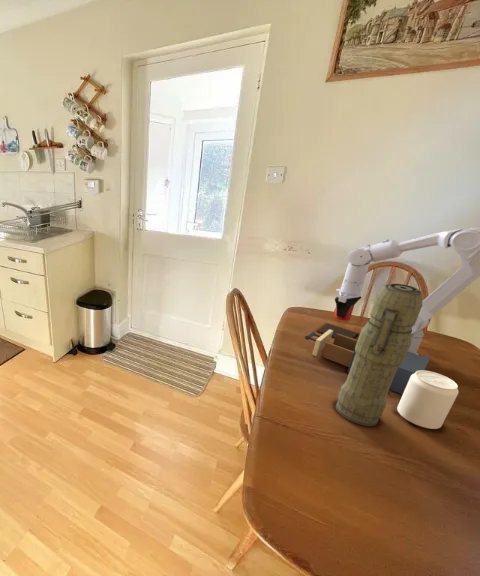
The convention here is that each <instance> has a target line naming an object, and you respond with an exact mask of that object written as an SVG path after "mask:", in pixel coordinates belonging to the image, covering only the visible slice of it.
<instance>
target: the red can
mask: <svg viewBox="0 0 480 576" xmlns="http://www.w3.org/2000/svg"><path fill="white" fill-rule="evenodd" d="M354 309H355V305H352V306H351V307H350V308H349V310H348V312H347V314H346V316H345V317H344V318H341V317H338V316H337V307H336V308H335V311H334V314H333V318H335V319H337V320H340V321H344V322H345V321H350V320H351V317H352V314H353V311H354Z"/></svg>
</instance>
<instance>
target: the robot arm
mask: <svg viewBox="0 0 480 576" xmlns="http://www.w3.org/2000/svg"><path fill="white" fill-rule="evenodd" d="M435 246H437V247H441V248H444V249H449V248H451V249H452V250H454V252H456V253H457V254H458V256H459V258H460V261H461V264H462V265H461V266H460V267H459V268H458V269H457V270H456V271H455V272H453V273H452V274H451V275H450V276H449V277H447V279H445V280H444V281H443V282H442V283H441V284H440V285H439V286H438V287H436V289H434V290H433V291H432V292H431V293H430V294H429V295H427V296H426V297H425V298H424V299H422V308H421V310H420V313H419V315H418V318H417V320H416V322H415V325H414V326H412V332H411V335H410V336H411V345H410V347H409V350H408V352H411V353H414V354H418V355H420V354H419V353H417V352H418V350H419V348H420V345H421V343H422V340H423V339H424V336H425V333H424V330H423V329H425V328H427V327H429V325H430V324H431V320H432V318H433V317H435V316H436V314H437V313H438V312H441V310H443V309H444V308H445V307H446V306H447V305H449V304H450V303H451V302H453V300H454V299H455V298H457V297H458V296H460V294H462V293H463V292H464V291H465V290H467V288H469V287H470V286H471V285H472V284H473V283H475V282H476V281H478V279H479V278H480V226H479V225H475V226H470V227H468V228H466V229H464V228H457V229H451V230H444V231H439V232H435V233H432V234H428V235H424V236H420V237H417V238H413V239H408V240H404V241H398V240H395V239H384V240H381V242H379V243H376V244H375V243H374V244H366V245H364V246H363V247H359V248H355V249H353V250H351V251H349V252H348V255H347V261H348V264H347V267H346V270H345V273H344V276H343V280H342V283H341V287H340V288H337V289H336V290H335V291H336V292H337V293H339V296H336V297H335V298H334V303H335V305H336V308H337V316H338V317H341V318H344V317H345V316H346V314H347V312H348V310H349V308H350V307H351V306H352V305H354V306H355V305H356V304H357V303H358V302H359V301H360V300H362V295H361V292H362V289H363V286H364V283H365V280H366V277H367V275H368V270H369V267H370V263H376V262H380V261H386V260H391V259H395V258H399V257H401V255H402V254H403V253H404V252H408V251H414V250H420V249H425V248H429V247H435Z"/></svg>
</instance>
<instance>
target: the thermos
mask: <svg viewBox="0 0 480 576" xmlns="http://www.w3.org/2000/svg"><path fill="white" fill-rule="evenodd" d="M422 301H423V291H421V290H420V289H418V288H417V287H414V286H411V285H407V284H403V283H389V284H385V285H384V286H383V287H382V288H381V289H380V290H379V291H378V293H377V294H376V296H375V299H374V302H373V305H372V308H371V311H370V313H369V316H370V317H369V318H368V319H367V322H366V324H365V325H363V327H362V328H361V329H360V332H359V335H358V338H357V340H358V341H357V344H356V347H355V352H356V354H355V357H354V360H353V363H352V366H351V369H350V372H349V373H348V375H347V378H346V380H345V382H344V383H343V384H342V385H341V387H340V389H339V392H338V395H337V402H336V404H335V409H336V411H337V413H338V414H340V415H341V416H342V417H343V418H344V419H346V420H348V421H350V422H352V423H354V424H356V425H361V426H365V427H374V426H376V425H378V423H379V419H380V417H382V416H383V413H384V411H385V408H386V405H387V399H386V398H387V395H388V393H389V391H390V389H389V388H390V386H391V383H392V381H393V378H394V376H395V373H396V371H397V369H398V366H400V365H401V364H403V362H404V359H405V357H406V355H407V352H408V350H409V347H410V345H411V336H410V335H411V332H412V326H414V325H415V322H416V320H417V318H418V315H419V313H420V310H421V308H422Z"/></svg>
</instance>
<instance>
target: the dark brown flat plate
mask: <svg viewBox="0 0 480 576" xmlns="http://www.w3.org/2000/svg"><path fill="white" fill-rule="evenodd" d="M329 329H330V330H333V334H332V337H331V338H334V339H335V336H336V334H337V333H338V334H341V335H344V336H347V337H350V338H353V339H355V337H357V335H358V334H359V332H355V331H352V330H350V329H347V328H343V327H340V326H337V325H333V324H331V323H326V324H325V325H324V326H322V327H321V328H320V329H318V330H317V333H319V334H322V335H323V334H324V333H325V332H327V331H328V330H329Z"/></svg>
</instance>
